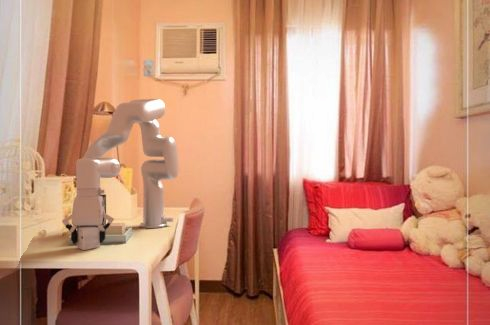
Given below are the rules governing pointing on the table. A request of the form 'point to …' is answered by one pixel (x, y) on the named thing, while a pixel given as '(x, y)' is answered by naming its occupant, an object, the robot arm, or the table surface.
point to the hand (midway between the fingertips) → (88, 242)
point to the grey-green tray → (111, 238)
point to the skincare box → (88, 237)
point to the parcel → (116, 229)
